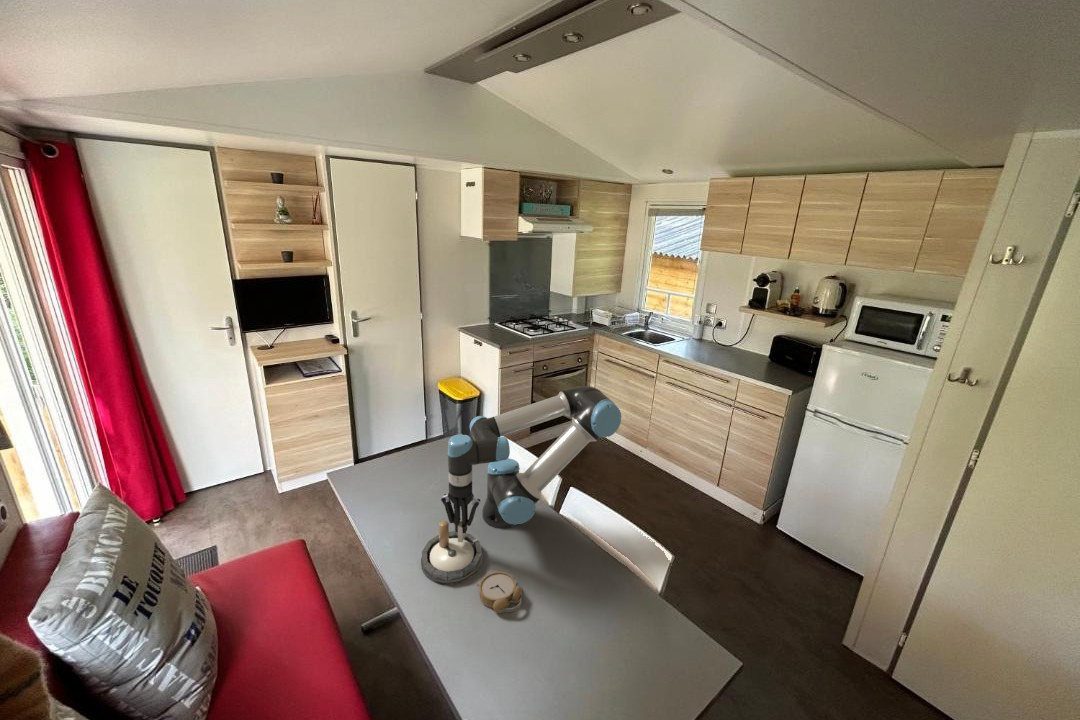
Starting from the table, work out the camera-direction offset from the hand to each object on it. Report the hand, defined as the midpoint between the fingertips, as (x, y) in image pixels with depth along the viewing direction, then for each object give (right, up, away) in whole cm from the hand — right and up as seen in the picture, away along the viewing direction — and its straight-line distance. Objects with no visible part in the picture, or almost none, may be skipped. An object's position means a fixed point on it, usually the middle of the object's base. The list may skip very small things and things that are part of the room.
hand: (461, 539), depth 148 cm
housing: (-3, -6, -3) cm, 7 cm away
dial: (-2, -4, -4) cm, 6 cm away
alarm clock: (+15, -12, -16) cm, 24 cm away
